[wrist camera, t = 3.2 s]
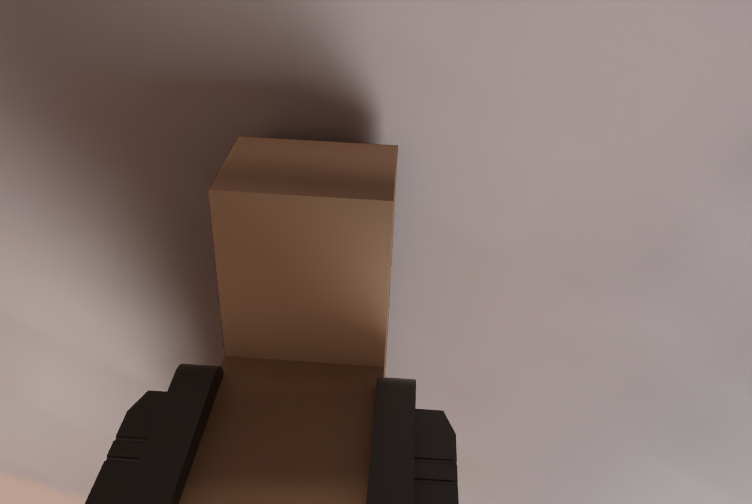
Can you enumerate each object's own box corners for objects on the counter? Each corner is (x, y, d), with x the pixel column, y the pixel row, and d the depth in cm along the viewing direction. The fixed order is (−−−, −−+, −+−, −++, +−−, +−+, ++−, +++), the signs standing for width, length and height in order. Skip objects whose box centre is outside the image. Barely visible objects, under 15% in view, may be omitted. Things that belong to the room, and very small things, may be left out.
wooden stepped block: (238, 135, 13) (47, 475, 7) (398, 145, 13) (368, 500, 7) (263, 491, 19) (172, 879, 12) (377, 499, 19) (350, 895, 12)
